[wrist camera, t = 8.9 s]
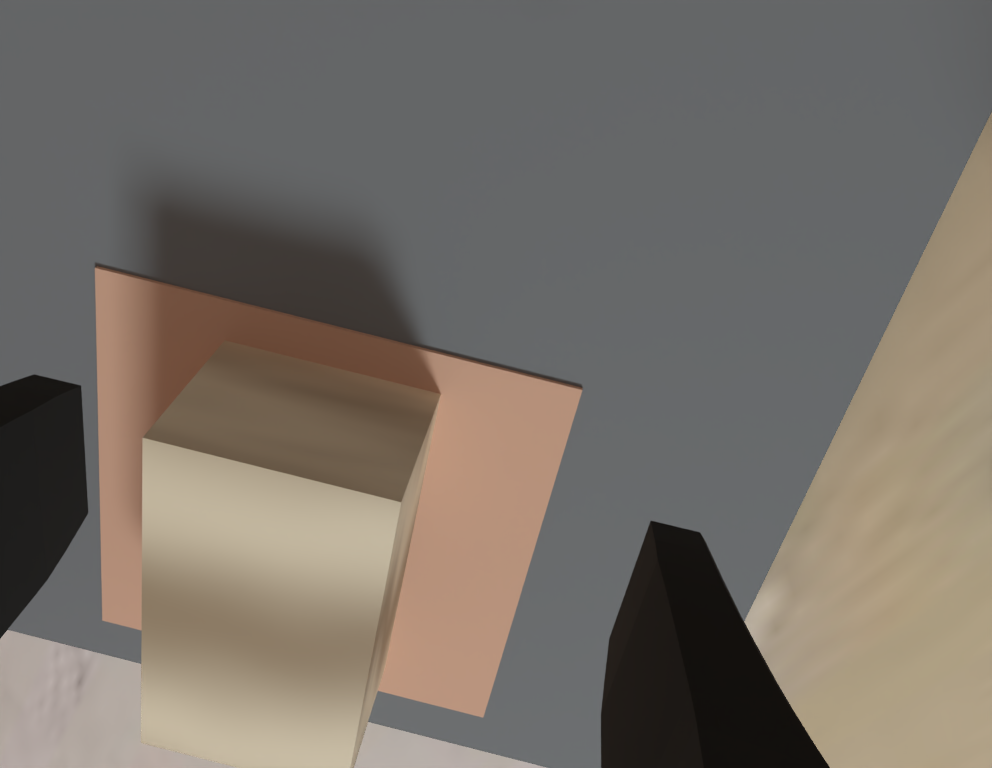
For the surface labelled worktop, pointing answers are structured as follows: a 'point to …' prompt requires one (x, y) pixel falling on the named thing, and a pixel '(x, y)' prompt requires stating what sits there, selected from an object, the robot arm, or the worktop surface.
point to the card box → (275, 556)
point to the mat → (483, 280)
